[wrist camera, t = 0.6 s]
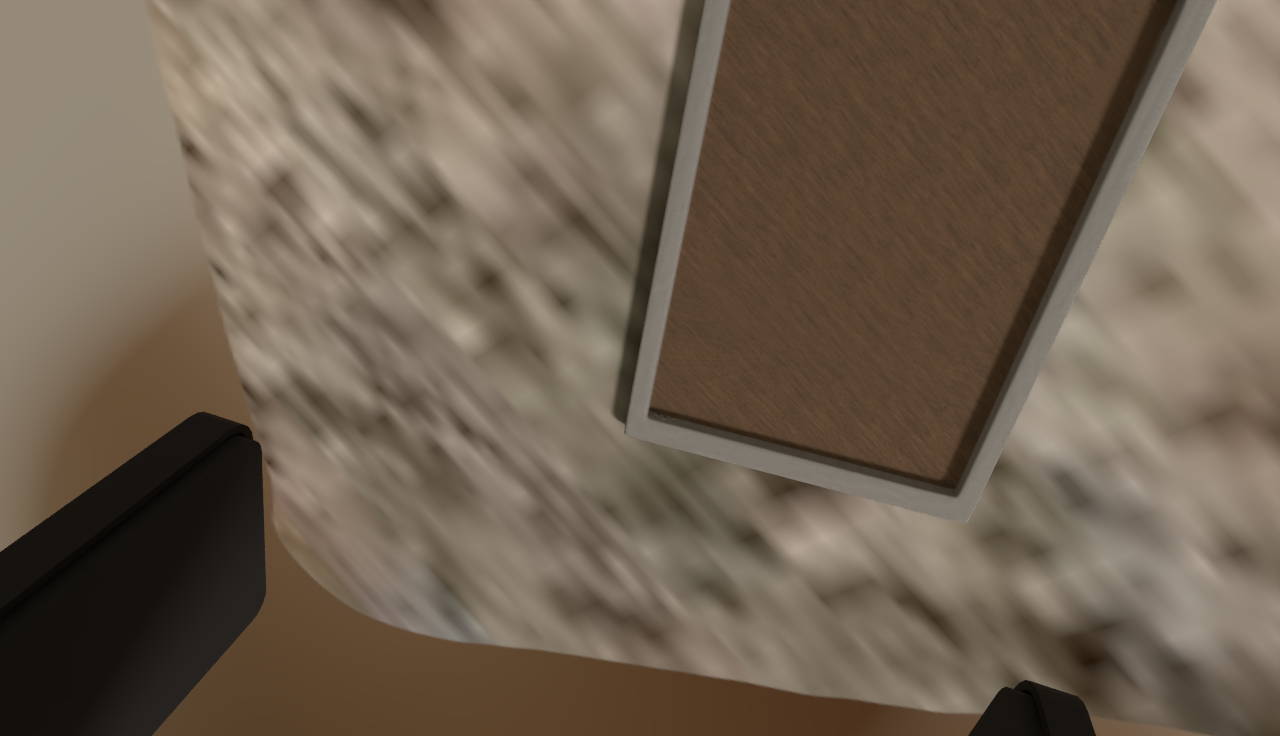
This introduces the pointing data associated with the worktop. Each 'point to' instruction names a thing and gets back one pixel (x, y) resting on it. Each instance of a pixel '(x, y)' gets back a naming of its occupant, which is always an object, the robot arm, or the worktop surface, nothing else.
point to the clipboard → (889, 228)
